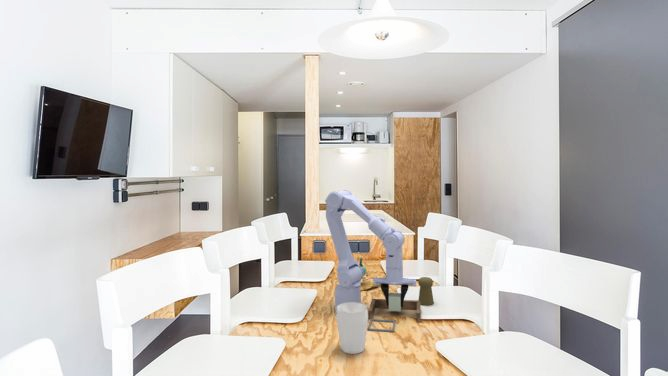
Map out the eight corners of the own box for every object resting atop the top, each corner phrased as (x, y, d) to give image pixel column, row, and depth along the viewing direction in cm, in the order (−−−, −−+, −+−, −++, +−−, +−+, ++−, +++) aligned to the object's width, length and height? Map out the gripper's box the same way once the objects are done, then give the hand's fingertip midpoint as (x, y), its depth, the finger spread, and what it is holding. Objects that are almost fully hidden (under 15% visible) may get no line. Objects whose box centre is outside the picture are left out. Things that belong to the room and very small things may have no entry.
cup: (335, 342, 111) (334, 302, 110) (365, 340, 112) (364, 301, 111) (338, 357, 102) (337, 314, 101) (371, 355, 103) (370, 312, 102)
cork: (435, 310, 134) (434, 280, 134) (417, 309, 136) (417, 279, 135) (434, 304, 140) (433, 275, 140) (417, 304, 142) (416, 275, 141)
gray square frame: (367, 335, 115) (367, 329, 115) (370, 324, 123) (370, 318, 123) (394, 337, 113) (394, 330, 113) (395, 326, 121) (395, 320, 121)
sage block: (388, 310, 128) (388, 296, 127) (389, 306, 131) (389, 292, 131) (400, 311, 127) (400, 296, 126) (401, 307, 131) (400, 293, 130)
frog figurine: (385, 291, 158) (380, 257, 157) (343, 296, 159) (338, 262, 159) (383, 284, 168) (379, 252, 167) (343, 289, 169) (339, 257, 168)
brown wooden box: (368, 323, 124) (368, 310, 124) (372, 310, 136) (372, 298, 136) (420, 326, 120) (420, 313, 120) (420, 313, 132) (420, 300, 132)
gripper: (371, 268, 126) (372, 308, 127) (415, 270, 123) (416, 311, 124) (374, 263, 133) (375, 301, 134) (415, 265, 130) (416, 303, 130)
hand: (395, 305), depth 129 cm, fingers closed on sage block, 4 cm apart
